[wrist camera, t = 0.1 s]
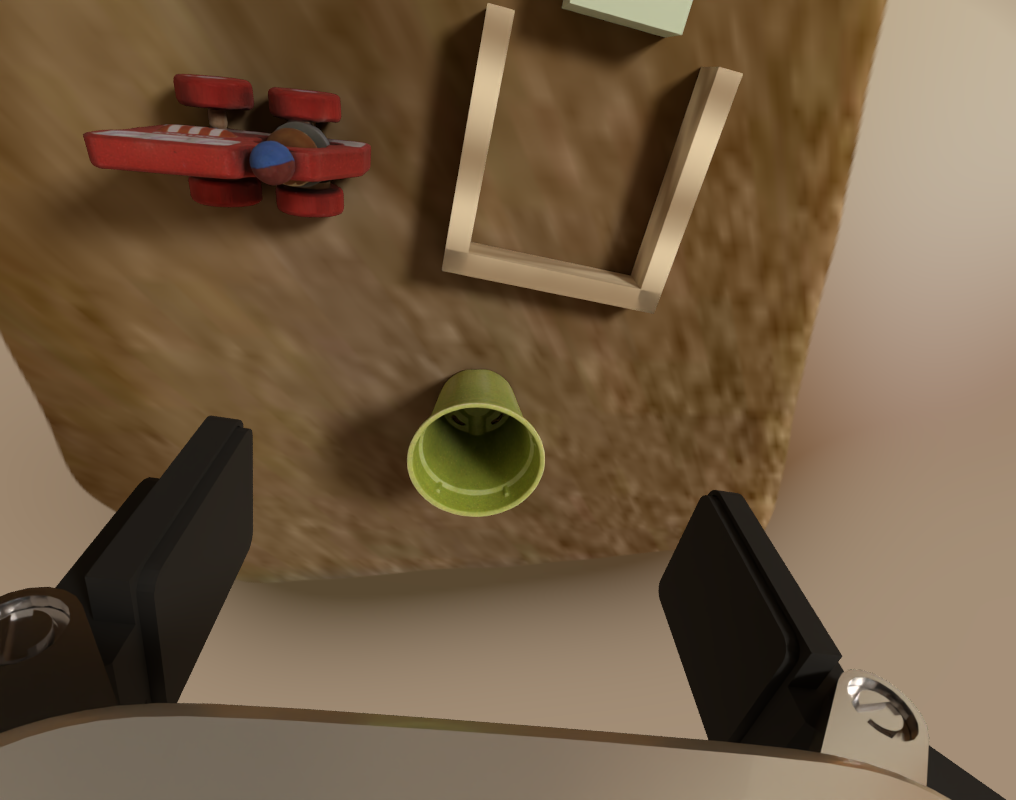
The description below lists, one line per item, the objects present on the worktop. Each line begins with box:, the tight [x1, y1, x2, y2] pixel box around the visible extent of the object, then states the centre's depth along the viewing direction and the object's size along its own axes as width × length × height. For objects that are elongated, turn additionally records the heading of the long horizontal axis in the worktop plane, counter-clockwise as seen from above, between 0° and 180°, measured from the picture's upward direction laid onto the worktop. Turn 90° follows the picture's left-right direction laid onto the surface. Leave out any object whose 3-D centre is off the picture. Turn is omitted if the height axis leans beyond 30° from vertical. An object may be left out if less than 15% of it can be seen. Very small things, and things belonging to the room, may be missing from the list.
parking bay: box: [442, 3, 743, 314], centre depth 37 cm, size 15×15×3 cm
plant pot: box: [407, 370, 545, 517], centre depth 43 cm, size 9×9×9 cm
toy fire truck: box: [83, 74, 371, 217], centre depth 32 cm, size 7×12×10 cm, turn 83°
